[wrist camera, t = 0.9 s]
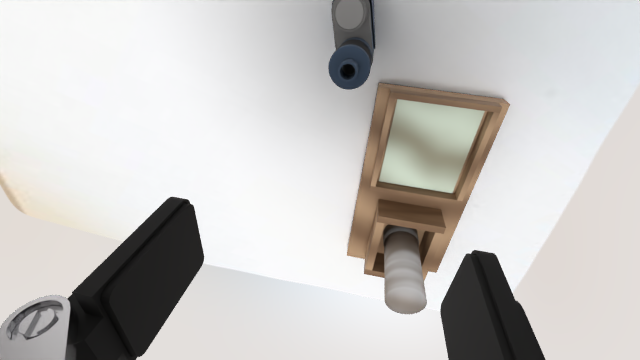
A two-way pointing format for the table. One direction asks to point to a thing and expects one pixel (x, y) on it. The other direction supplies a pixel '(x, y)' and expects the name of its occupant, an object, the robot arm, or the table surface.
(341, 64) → the vaping device
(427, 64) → the table surface
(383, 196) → the holder
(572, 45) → the table surface
